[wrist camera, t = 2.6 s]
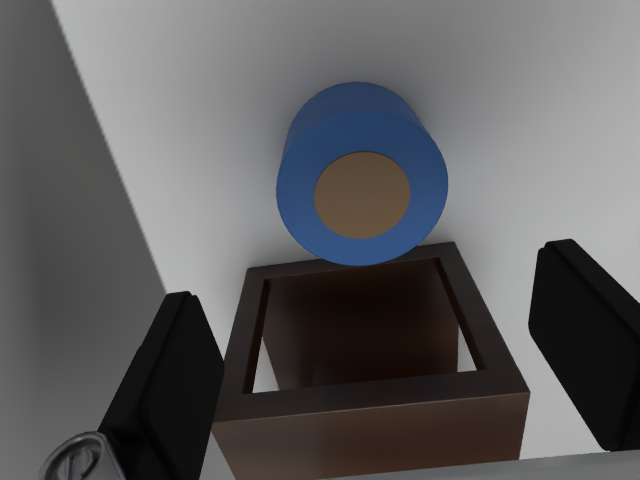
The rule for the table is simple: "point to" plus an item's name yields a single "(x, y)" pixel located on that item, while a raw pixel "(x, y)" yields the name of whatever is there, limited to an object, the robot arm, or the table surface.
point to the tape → (360, 176)
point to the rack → (367, 371)
